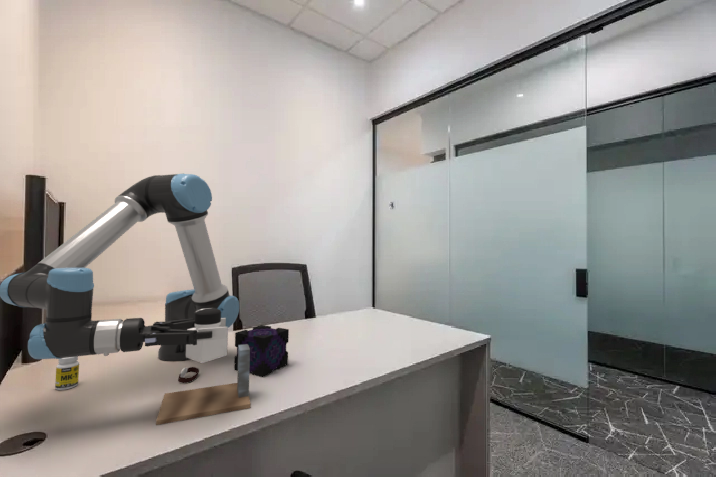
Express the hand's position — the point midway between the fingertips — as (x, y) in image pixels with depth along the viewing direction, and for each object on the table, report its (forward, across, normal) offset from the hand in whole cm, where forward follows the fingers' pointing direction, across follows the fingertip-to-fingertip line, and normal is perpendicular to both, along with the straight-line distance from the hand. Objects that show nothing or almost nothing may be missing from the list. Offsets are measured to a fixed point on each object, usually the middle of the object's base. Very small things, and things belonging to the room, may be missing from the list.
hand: (226, 327), depth 84 cm
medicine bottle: (-4, 0, -7) cm, 8 cm away
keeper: (-4, 0, -19) cm, 19 cm away
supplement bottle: (-39, -24, -19) cm, 50 cm away
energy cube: (+12, -19, -19) cm, 30 cm away
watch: (-9, -18, -19) cm, 28 cm away
